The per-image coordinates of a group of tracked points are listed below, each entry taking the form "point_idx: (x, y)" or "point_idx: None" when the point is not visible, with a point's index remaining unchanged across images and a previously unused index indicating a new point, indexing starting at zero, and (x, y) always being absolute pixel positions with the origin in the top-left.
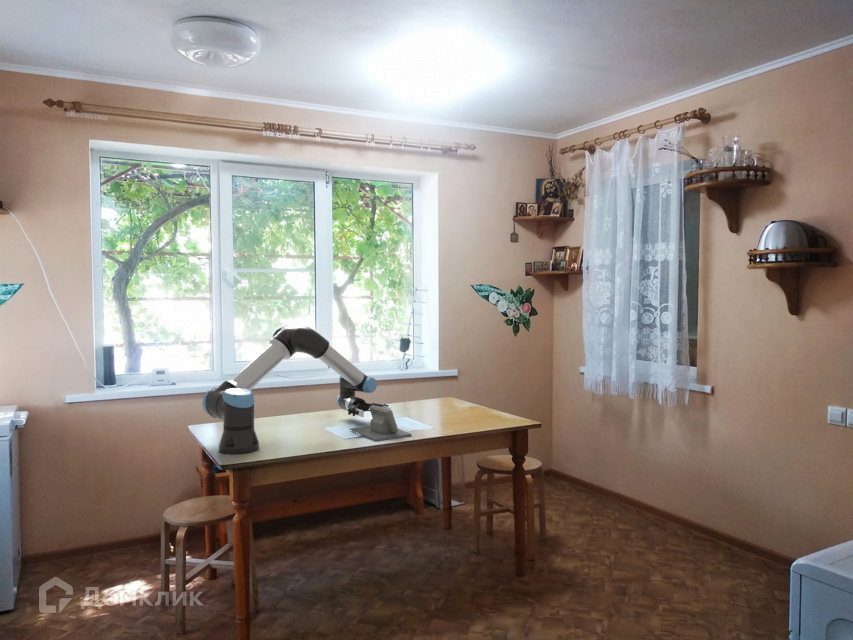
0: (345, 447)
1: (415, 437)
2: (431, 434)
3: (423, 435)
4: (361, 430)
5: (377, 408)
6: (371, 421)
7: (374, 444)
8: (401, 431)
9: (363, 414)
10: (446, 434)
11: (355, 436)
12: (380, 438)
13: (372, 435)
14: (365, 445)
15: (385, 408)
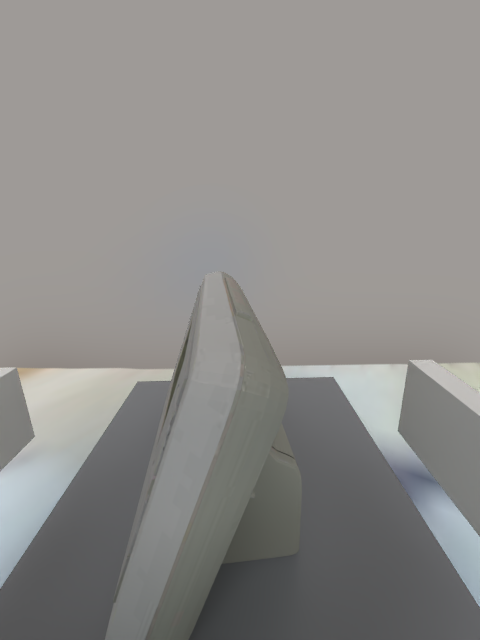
0: (466, 371)
1: (145, 377)
2: (52, 384)
3: (91, 385)
4: (404, 614)
5: (247, 306)
6: (295, 461)
7: (341, 366)
8: (126, 424)
9: (402, 404)
10: (21, 369)
11: (453, 509)
12: (301, 379)
13: (326, 420)
14: (379, 367)
15: (211, 282)
